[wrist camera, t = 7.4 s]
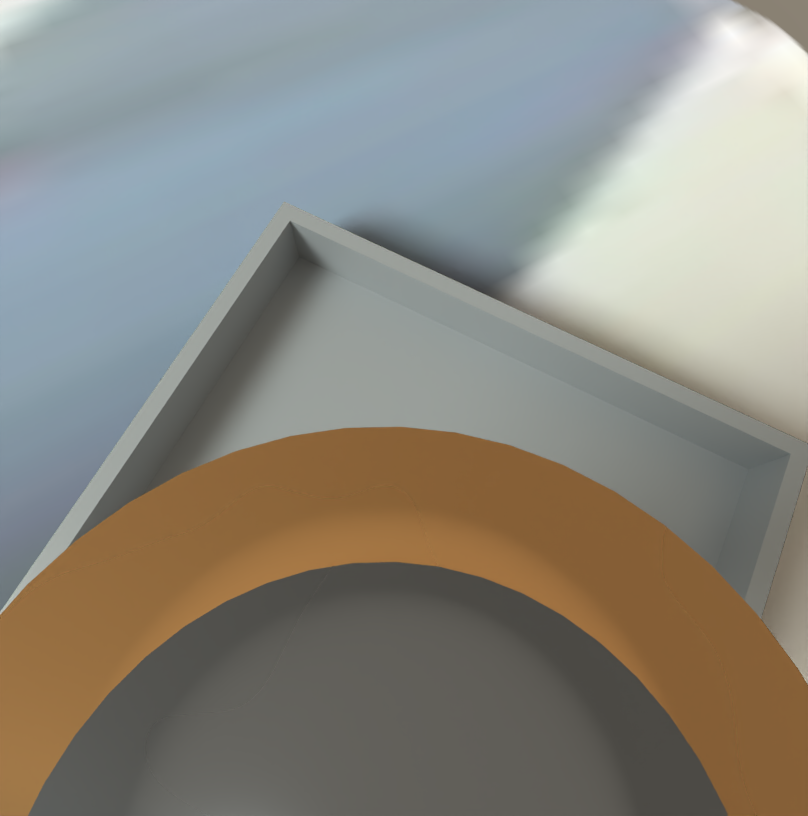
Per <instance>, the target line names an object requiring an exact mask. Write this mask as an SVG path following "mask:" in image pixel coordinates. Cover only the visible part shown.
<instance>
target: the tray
mask: <svg viewBox="0 0 808 816" xmlns="http://www.w3.org/2000/svg"><path fill="white" fill-rule="evenodd" d="M361 427H409V428H418V429H428V430H437V431H446V432H456V433H460V434H465V435H469V436H473V437H477V438H482V439H486V440H490V441H494V442H499V443H503V444H507V445H511V446H514V447H516V448H519V449H522V450H524V451H527V452H530V453H533V454H535V455H538V456H541V457H543V458H546V459H549V460H551V461H554V462H557V463H560V464H562V465H564V466H566V467H568V468H570V469H572V470H574V471H576V472H578V473H580V474H582V475H584V476H586V477H588V478H590V479H592V480H594V481H595V482H597V483H599V484H601V485H603V486H605V487H607V488H609V489H611V490H613V491H615V492H616V493H618V494H619V495H621V496H622V497H624V498H625V499H627V500H628V501H630V502H631V503H633V504H634V505H636V506H637V507H639V508H640V509H642V510H643V511H644V512H646V513H647V514H649V515H650V516H652V517H653V518H655V519H656V520H658V521H659V522H661V523H662V524H664V525H665V526H666V527H667V528H669V529H670V530H671V531H672V532H673V533H674V534H676V535H677V536H678V537H679V538H680V539H681V540H683V541H684V542H685V543H686V544H687V545H688V546H690V547H691V548H692V549H693V550H694V551H695V552H697V553H698V554H699V555H700V556H701V557H702V558H704V559H705V560H706V561H707V562H708V563H709V564H711V565H712V566H713V567H714V568H715V569H716V571H717V572H718V573H719V574H720V575H721V576H722V577H723V578H724V579H725V580H726V581H727V582H728V583H729V584H730V586H731V587H732V588H733V589H734V590H735V591H736V592H737V593H738V594H739V595H740V596H741V597H742V598H743V600H744V601H745V602H746V603H747V604H748V605H749V606H750V607H751V608H752V609H753V610H754V611H755V612H756V613H757V615H758V616H759V617H760V619H761V617H762V614H763V611H764V608H765V604H766V601H767V598H768V594H769V591H770V588H771V585H772V581H773V578H774V575H775V572H776V568H777V565H778V562H779V558H780V555H781V552H782V549H783V545H784V542H785V539H786V536H787V532H788V529H789V526H790V522H791V519H792V516H793V513H794V509H795V506H796V503H797V500H798V496H799V493H800V490H801V486H802V483H803V480H804V477H805V473H806V470H807V467H808V443H806V442H803V441H801V440H799V439H797V438H795V437H793V436H790V435H788V434H786V433H784V432H782V431H780V430H777V429H775V428H773V427H771V426H769V425H767V424H764V423H762V422H760V421H758V420H756V419H754V418H751V417H749V416H747V415H745V414H743V413H741V412H738V411H736V410H734V409H732V408H730V407H728V406H725V405H723V404H721V403H719V402H717V401H715V400H712V399H710V398H708V397H706V396H704V395H702V394H699V393H697V392H695V391H693V390H691V389H689V388H686V387H684V386H682V385H680V384H678V383H676V382H673V381H671V380H669V379H667V378H665V377H663V376H660V375H658V374H656V373H654V372H652V371H650V370H647V369H645V368H643V367H641V366H639V365H637V364H635V363H632V362H630V361H628V360H626V359H624V358H622V357H619V356H617V355H615V354H613V353H611V352H609V351H606V350H604V349H602V348H600V347H598V346H596V345H593V344H591V343H589V342H587V341H585V340H583V339H580V338H578V337H576V336H574V335H572V334H570V333H567V332H565V331H563V330H561V329H559V328H557V327H554V326H552V325H550V324H548V323H546V322H544V321H541V320H539V319H537V318H535V317H533V316H531V315H528V314H526V313H524V312H522V311H520V310H518V309H515V308H513V307H511V306H509V305H507V304H505V303H502V302H500V301H498V300H496V299H494V298H492V297H489V296H487V295H485V294H483V293H481V292H479V291H476V290H474V289H472V288H470V287H468V286H466V285H463V284H461V283H459V282H457V281H455V280H453V279H450V278H448V277H446V276H444V275H442V274H440V273H437V272H435V271H433V270H431V269H429V268H427V267H424V266H422V265H420V264H418V263H416V262H414V261H411V260H409V259H407V258H405V257H403V256H401V255H398V254H396V253H394V252H392V251H390V250H388V249H385V248H383V247H381V246H379V245H377V244H375V243H372V242H370V241H368V240H366V239H364V238H362V237H360V236H357V235H355V234H353V233H351V232H349V231H347V230H344V229H342V228H340V227H338V226H336V225H334V224H331V223H329V222H327V221H325V220H323V219H321V218H318V217H316V216H314V215H312V214H310V213H308V212H305V211H303V210H301V209H299V208H297V207H295V206H292V205H290V204H288V203H286V202H284V203H283V204H282V205H281V207H280V208H279V210H278V211H277V213H276V214H275V216H274V217H273V219H272V220H271V221H270V223H269V224H268V226H267V227H266V229H265V230H264V232H263V233H262V234H261V236H260V237H259V239H258V240H257V242H256V243H255V245H254V246H253V247H252V249H251V250H250V252H249V253H248V255H247V256H246V258H245V259H244V260H243V262H242V263H241V265H240V266H239V268H238V269H237V271H236V272H235V273H234V275H233V276H232V278H231V279H230V281H229V282H228V284H227V285H226V286H225V288H224V289H223V291H222V292H221V294H220V295H219V297H218V298H217V299H216V301H215V302H214V304H213V305H212V307H211V308H210V310H209V311H208V312H207V314H206V315H205V317H204V318H203V320H202V321H201V323H200V324H199V325H198V327H197V328H196V330H195V331H194V333H193V334H192V336H191V337H190V338H189V340H188V341H187V343H186V344H185V346H184V347H183V349H182V350H181V351H180V353H179V354H178V356H177V357H176V359H175V360H174V362H173V363H172V364H171V366H170V367H169V369H168V370H167V372H166V373H165V375H164V376H163V378H162V379H161V380H160V382H159V383H158V385H157V386H156V388H155V389H154V391H153V392H152V393H151V395H150V396H149V398H148V399H147V401H146V402H145V404H144V405H143V406H142V408H141V409H140V411H139V412H138V414H137V415H136V417H135V418H134V419H133V421H132V422H131V424H130V425H129V427H128V428H127V430H126V431H125V432H124V434H123V435H122V437H121V438H120V440H119V441H118V443H117V444H116V445H115V447H114V448H113V450H112V451H111V453H110V454H109V456H108V457H107V458H106V460H105V461H104V463H103V464H102V466H101V467H100V469H99V470H98V471H97V473H96V474H95V476H94V477H93V479H92V480H91V482H90V483H89V484H88V486H87V487H86V489H85V490H84V492H83V493H82V495H81V496H80V497H79V499H78V500H77V502H76V503H75V505H74V506H73V508H72V509H71V510H70V512H69V513H68V515H67V516H66V518H65V519H64V521H63V522H62V524H61V525H60V526H59V528H58V529H57V531H56V532H55V534H54V535H53V537H52V538H51V539H50V541H49V542H48V544H47V545H46V547H45V548H44V550H43V551H42V552H41V554H40V555H39V557H38V558H37V560H36V561H35V563H34V564H33V565H32V567H31V568H30V570H29V571H28V573H27V574H26V576H25V577H24V578H23V580H22V581H21V583H20V584H19V586H18V587H17V589H16V590H15V591H14V593H13V594H12V596H11V597H10V599H9V600H8V602H7V603H6V604H5V606H4V607H3V609H2V610H1V612H0V614H1V613H2V612H3V611H4V610H5V609H6V608H7V607H8V605H9V604H10V603H11V602H12V601H13V600H14V599H15V598H16V596H17V595H18V594H19V593H20V592H21V591H22V590H23V589H24V587H25V586H26V585H27V584H28V583H29V582H31V581H32V580H33V579H34V578H35V577H36V576H37V575H38V574H39V573H41V572H42V571H43V570H44V569H45V568H46V567H47V566H48V565H49V564H51V563H52V562H53V561H54V560H55V559H56V558H57V557H58V556H59V555H61V554H62V553H63V552H64V551H65V550H66V549H67V548H68V547H69V546H70V545H72V544H73V543H74V542H75V541H76V540H77V539H79V538H80V537H81V536H83V535H84V534H86V533H87V532H88V531H90V530H91V529H93V528H94V527H95V526H97V525H98V524H100V523H101V522H102V521H104V520H105V519H107V518H108V517H109V516H111V515H112V514H114V513H115V512H116V511H118V510H119V509H121V508H122V507H123V506H125V505H126V504H127V503H129V502H131V501H133V500H134V499H136V498H138V497H140V496H142V495H143V494H145V493H147V492H149V491H151V490H152V489H154V488H156V487H158V486H160V485H161V484H163V483H165V482H167V481H169V480H170V479H172V478H174V477H176V476H178V475H179V474H181V473H183V472H186V471H188V470H191V469H193V468H196V467H198V466H201V465H203V464H205V463H208V462H210V461H213V460H215V459H218V458H220V457H222V456H225V455H227V454H230V453H232V452H235V451H238V450H241V449H245V448H249V447H252V446H256V445H259V444H263V443H267V442H270V441H274V440H278V439H281V438H285V437H289V436H293V435H300V434H307V433H314V432H321V431H328V430H335V429H341V428H361Z"/></svg>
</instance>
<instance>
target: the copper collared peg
mask: <svg viewBox="0 0 808 816" xmlns="http://www.w3.org/2000/svg"><path fill="white" fill-rule="evenodd" d="M0 816H808V685H807V683H806V681H805V680H804V678H803V676H802V675H801V673H800V671H799V670H798V668H797V667H796V666H795V664H794V663H793V662H792V660H791V659H790V658H789V656H788V655H787V654H786V652H785V651H784V649H783V648H782V647H781V645H780V644H779V643H778V641H777V640H776V639H775V637H774V636H773V635H772V633H771V632H770V631H769V629H768V628H767V627H766V625H765V624H764V623H763V621H762V620H761V619H760V617H759V616H758V615H757V613H756V612H755V611H754V610H753V609H752V608H751V607H750V606H749V605H748V604H747V603H746V602H745V601H744V600H743V598H742V597H741V596H740V595H739V594H738V593H737V592H736V591H735V590H734V589H733V588H732V587H731V586H730V584H729V583H728V582H727V581H726V580H725V579H724V578H723V577H722V576H721V575H720V574H719V573H718V572H717V571H716V569H715V568H714V567H713V566H712V565H711V564H709V563H708V562H707V561H706V560H705V559H704V558H702V557H701V556H700V555H699V554H698V553H697V552H695V551H694V550H693V549H692V548H691V547H690V546H688V545H687V544H686V543H685V542H684V541H683V540H681V539H680V538H679V537H678V536H677V535H676V534H674V533H673V532H672V531H671V530H670V529H669V528H667V527H666V526H665V525H664V524H662V523H661V522H659V521H658V520H656V519H655V518H653V517H652V516H650V515H649V514H647V513H646V512H644V511H643V510H642V509H640V508H639V507H637V506H636V505H634V504H633V503H631V502H630V501H628V500H627V499H625V498H624V497H622V496H621V495H619V494H618V493H616V492H615V491H613V490H611V489H609V488H607V487H605V486H603V485H601V484H599V483H597V482H595V481H594V480H592V479H590V478H588V477H586V476H584V475H582V474H580V473H578V472H576V471H574V470H572V469H570V468H568V467H566V466H564V465H562V464H560V463H557V462H554V461H551V460H549V459H546V458H543V457H541V456H538V455H535V454H533V453H530V452H527V451H524V450H522V449H519V448H516V447H514V446H511V445H507V444H503V443H499V442H494V441H490V440H486V439H482V438H477V437H473V436H469V435H465V434H460V433H456V432H446V431H437V430H428V429H418V428H409V427H361V428H341V429H335V430H328V431H321V432H314V433H307V434H300V435H293V436H289V437H285V438H281V439H278V440H274V441H270V442H267V443H263V444H259V445H256V446H252V447H249V448H245V449H241V450H238V451H235V452H232V453H230V454H227V455H225V456H222V457H220V458H218V459H215V460H213V461H210V462H208V463H205V464H203V465H201V466H198V467H196V468H193V469H191V470H188V471H186V472H183V473H181V474H179V475H178V476H176V477H174V478H172V479H170V480H169V481H167V482H165V483H163V484H161V485H160V486H158V487H156V488H154V489H152V490H151V491H149V492H147V493H145V494H143V495H142V496H140V497H138V498H136V499H134V500H133V501H131V502H129V503H127V504H126V505H125V506H123V507H122V508H121V509H119V510H118V511H116V512H115V513H114V514H112V515H111V516H109V517H108V518H107V519H105V520H104V521H102V522H101V523H100V524H98V525H97V526H95V527H94V528H93V529H91V530H90V531H88V532H87V533H86V534H84V535H83V536H81V537H80V538H79V539H77V540H76V541H75V542H74V543H73V544H72V545H70V546H69V547H68V548H67V549H66V550H65V551H64V552H63V553H62V554H61V555H59V556H58V557H57V558H56V559H55V560H54V561H53V562H52V563H51V564H49V565H48V566H47V567H46V568H45V569H44V570H43V571H42V572H41V573H39V574H38V575H37V576H36V577H35V578H34V579H33V580H32V581H31V582H29V583H28V584H27V585H26V586H25V587H24V589H23V590H22V591H21V592H20V593H19V594H18V595H17V596H16V598H15V599H14V600H13V601H12V602H11V603H10V604H9V605H8V607H7V608H6V609H5V610H4V611H3V612H2V613H1V614H0Z"/></svg>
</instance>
